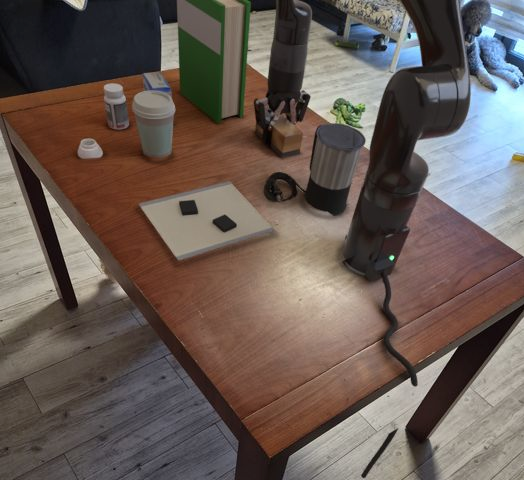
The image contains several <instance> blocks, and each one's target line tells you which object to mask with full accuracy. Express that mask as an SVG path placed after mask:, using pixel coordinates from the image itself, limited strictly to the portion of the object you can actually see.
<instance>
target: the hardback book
mask: <svg viewBox="0 0 524 480" xmlns="http://www.w3.org/2000/svg"><path fill="white" fill-rule="evenodd" d="M251 7H252V2H251V1H249V0H176V13H177V14H176V15H177V16H176V17H177V43H178V44H177V45H178V70H179V72H178V75H179V94H181V95H182V96H183V97H185V98H186V99H187V100H188V101H190V102H191V103H192V104H193V105H194V106H196V107H197V108H198V109H200V111H202V112H203V113H204V114H206V115H207V116H208V117H210V118H211V119H212V120H213V121H214V122H216V123H217V124H222V121H223V120H222V119H225V118H228V117H234V116H237V117H238V118H240V119H242V118H243V117H244V110H245V107H244V106H245V95H246V94H245V93H246V82H247V81H246V78H247V65H248V51H249V39H250V38H249V37H250V36H249V35H250V23H251V22H250V21H251Z"/></svg>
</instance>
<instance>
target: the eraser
mask: <svg viewBox="0 0 524 480" xmlns="http://www.w3.org/2000/svg"><path fill="white" fill-rule="evenodd" d="M265 112H266V110H265ZM272 114H273V115H274V113H273V112H272ZM269 121H270V120H269ZM254 133H255V134H256V135H257V136H258V137H259V138H260V139H261V140H262V135H263V129H262V128H261V127H260V126H258V125H257V124H256V123H255V128H254ZM303 136H304V132H303V131H301V129H299V128H298V127H297V126H296V125H293V124H292V123H291V122H290V121H289V120H288V119H286V116H285V115H283V114H281V115H279V118H278V120H277V121H275V123H274V126H273V128H272V139H271V145H268V147H270V148H271V149H272V150H273V151H274V152H275V153H276V154H277V155H278V156H279V157H280V158H281V159H283V158H286V157H291V156H295V155H299V154H301V147H302V142H303Z"/></svg>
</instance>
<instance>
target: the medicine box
mask: <svg viewBox="0 0 524 480" xmlns="http://www.w3.org/2000/svg"><path fill="white" fill-rule="evenodd" d="M142 82H143V91H149V90H154V91H161V92H164V93H166V94H168V95H170V96H171V98H172V99H173V97H172V96H173V95H172V88H171V85H170V84H169V83H168V82H167V79H165V77H164V76H163V74H162V73H161V72H144V73H142Z"/></svg>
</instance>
